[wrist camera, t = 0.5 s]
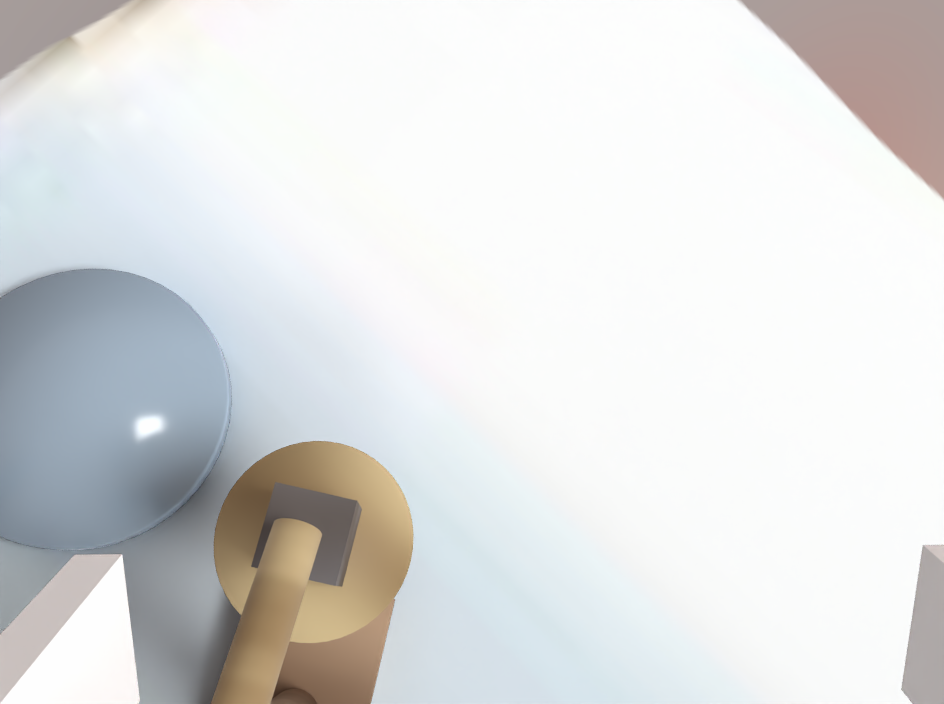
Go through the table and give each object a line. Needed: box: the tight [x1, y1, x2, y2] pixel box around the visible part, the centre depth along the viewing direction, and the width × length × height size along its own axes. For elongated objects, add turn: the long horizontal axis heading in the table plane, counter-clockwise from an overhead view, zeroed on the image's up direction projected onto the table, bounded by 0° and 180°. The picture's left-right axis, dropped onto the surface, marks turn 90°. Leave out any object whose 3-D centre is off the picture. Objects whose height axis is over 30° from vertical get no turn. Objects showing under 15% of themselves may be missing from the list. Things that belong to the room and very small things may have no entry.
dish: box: [0, 269, 232, 550], centre depth 32 cm, size 11×11×1 cm
